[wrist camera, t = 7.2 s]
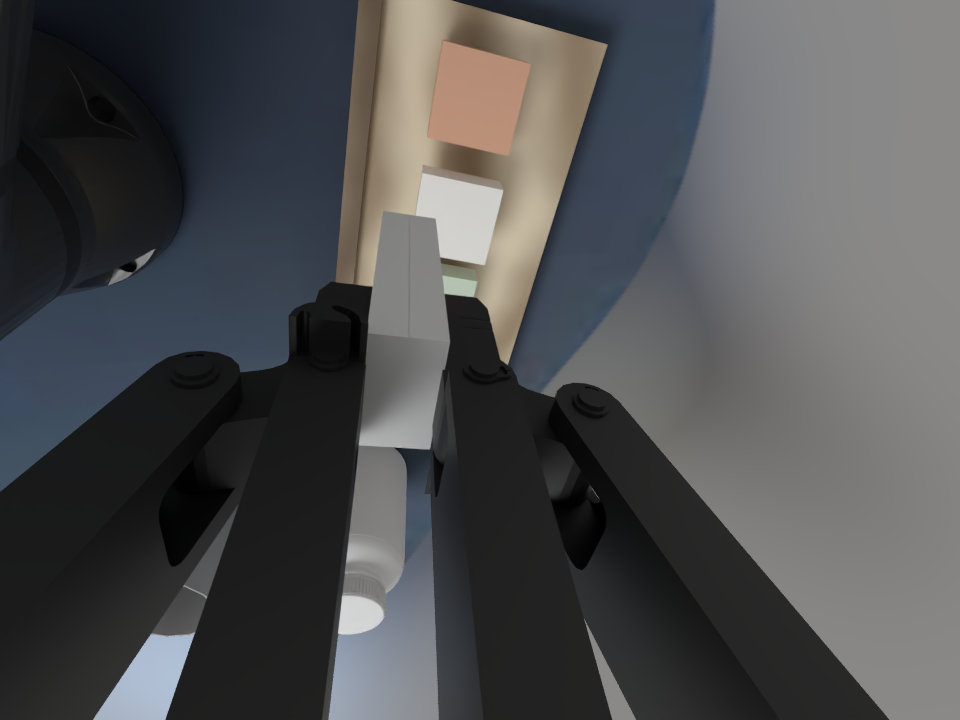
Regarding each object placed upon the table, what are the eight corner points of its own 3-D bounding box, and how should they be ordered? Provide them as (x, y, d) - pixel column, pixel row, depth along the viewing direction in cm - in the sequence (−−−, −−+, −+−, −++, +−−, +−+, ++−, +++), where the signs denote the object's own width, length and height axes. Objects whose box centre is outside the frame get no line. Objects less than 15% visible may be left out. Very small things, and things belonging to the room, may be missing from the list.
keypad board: (331, 378, 43) (326, 397, 41) (365, -23, 28) (360, -26, 26) (490, 398, 46) (493, 417, 44) (598, 43, 31) (610, 45, 29)
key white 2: (410, 239, 33) (409, 251, 31) (422, 164, 30) (422, 172, 29) (482, 253, 34) (484, 265, 32) (499, 181, 31) (503, 190, 30)
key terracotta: (427, 131, 31) (427, 137, 29) (442, 39, 28) (442, 40, 26) (504, 148, 31) (508, 156, 30) (525, 61, 29) (530, 63, 27)
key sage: (397, 317, 37) (396, 331, 36) (407, 257, 35) (406, 269, 33) (461, 327, 38) (462, 341, 37) (475, 269, 36) (477, 281, 34)
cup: (267, 516, 52) (237, 610, 44) (214, 550, 54) (177, 646, 46) (195, 473, 48) (147, 568, 40) (142, 512, 50) (86, 609, 42)
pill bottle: (420, 480, 51) (419, 628, 39) (348, 502, 52) (323, 654, 40) (387, 425, 47) (373, 572, 34) (308, 450, 48) (266, 603, 35)
